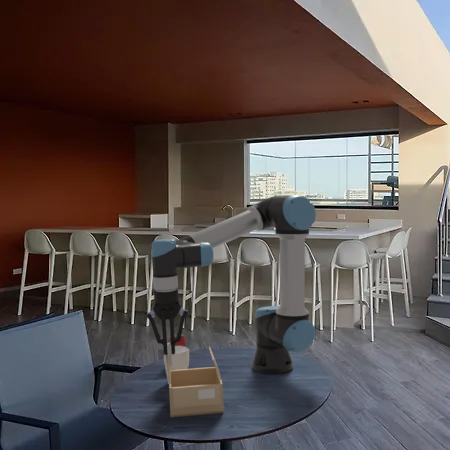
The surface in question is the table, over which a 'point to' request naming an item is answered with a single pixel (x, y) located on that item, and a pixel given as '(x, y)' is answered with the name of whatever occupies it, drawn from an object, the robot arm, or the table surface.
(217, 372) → the flap
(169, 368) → the flap
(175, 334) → the beer can
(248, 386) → the table surface
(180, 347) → the cup
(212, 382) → the carton
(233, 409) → the table surface
